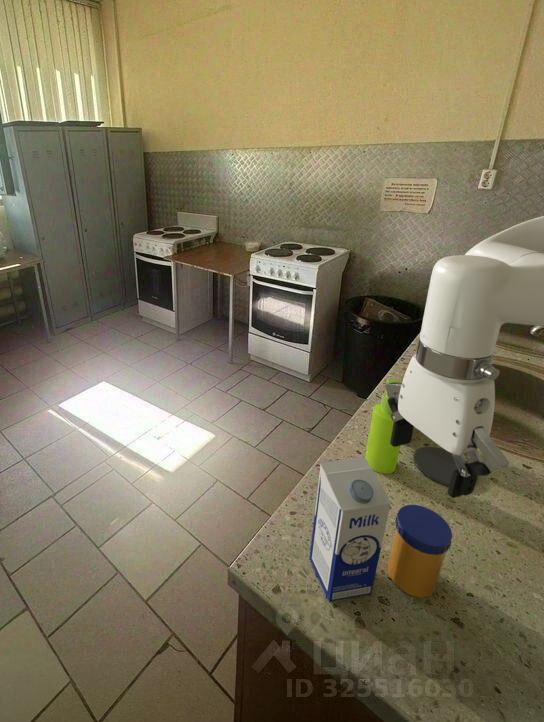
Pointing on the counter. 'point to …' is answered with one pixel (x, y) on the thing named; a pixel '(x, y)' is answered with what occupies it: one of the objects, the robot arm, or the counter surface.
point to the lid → (423, 529)
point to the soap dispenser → (382, 438)
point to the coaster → (435, 464)
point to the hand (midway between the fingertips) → (427, 466)
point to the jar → (413, 568)
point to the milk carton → (348, 527)
